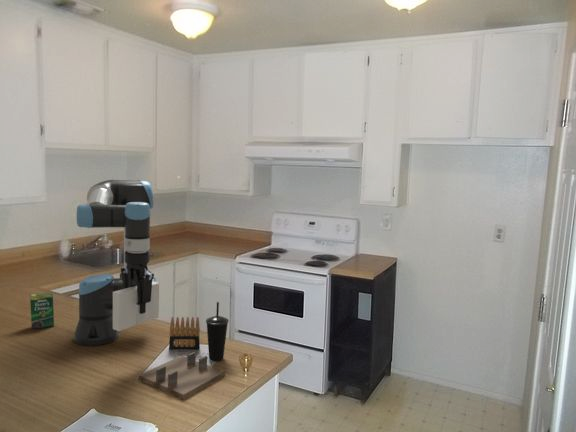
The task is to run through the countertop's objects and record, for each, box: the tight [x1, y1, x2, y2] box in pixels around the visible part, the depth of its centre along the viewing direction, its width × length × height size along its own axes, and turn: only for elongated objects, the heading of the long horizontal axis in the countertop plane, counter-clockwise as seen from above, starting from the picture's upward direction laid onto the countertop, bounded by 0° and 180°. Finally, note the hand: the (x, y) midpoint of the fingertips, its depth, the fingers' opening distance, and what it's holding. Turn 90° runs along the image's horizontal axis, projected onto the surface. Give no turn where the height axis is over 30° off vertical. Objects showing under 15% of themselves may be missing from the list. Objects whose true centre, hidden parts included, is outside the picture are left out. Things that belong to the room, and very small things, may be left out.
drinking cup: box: [205, 301, 229, 362], centre depth 156 cm, size 8×8×20 cm
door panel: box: [113, 281, 160, 332], centre depth 148 cm, size 3×16×12 cm, turn 148°
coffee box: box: [29, 292, 55, 330], centre depth 177 cm, size 8×3×13 cm, turn 116°
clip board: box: [138, 351, 226, 400], centre depth 142 cm, size 19×18×5 cm
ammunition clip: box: [168, 316, 201, 351], centre depth 163 cm, size 11×2×12 cm, turn 97°
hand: (136, 320), depth 149 cm, fingers closed on door panel, 3 cm apart
